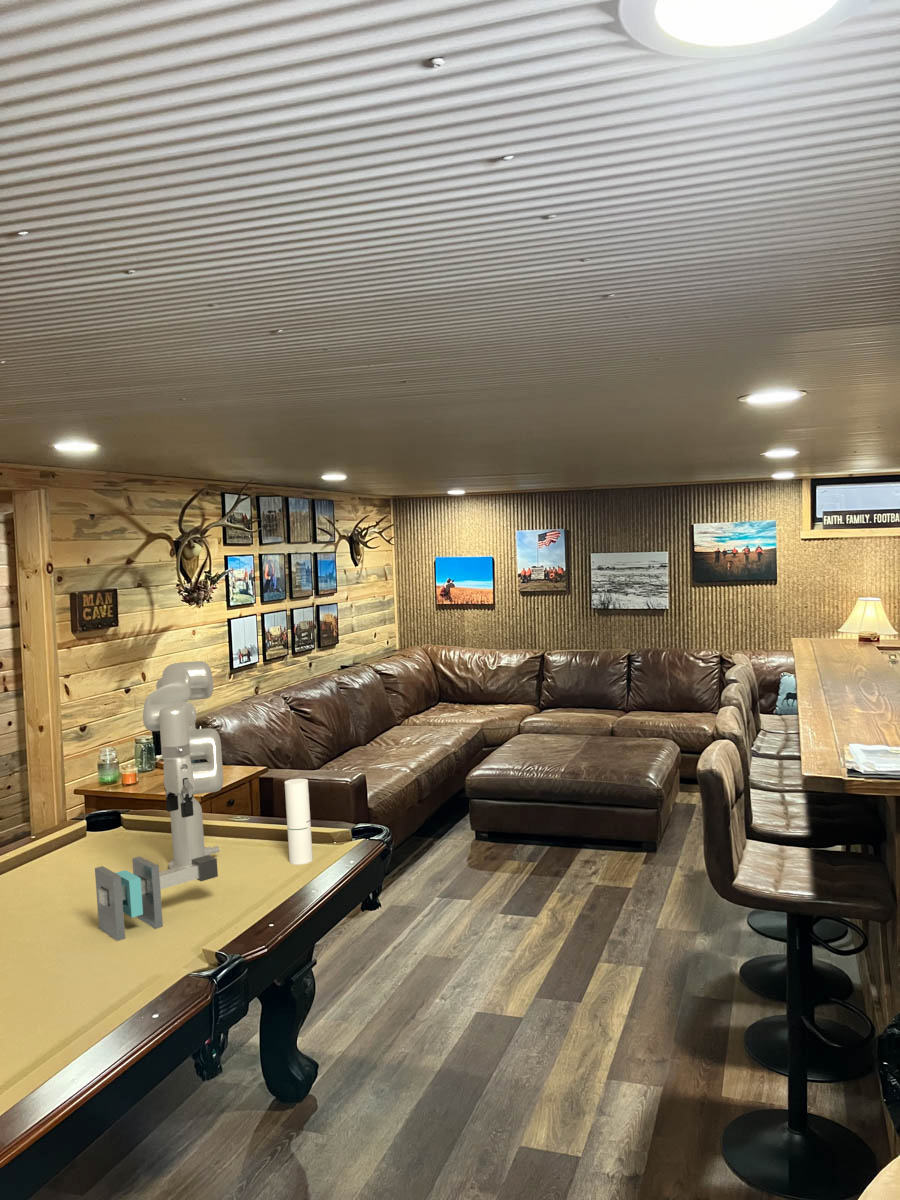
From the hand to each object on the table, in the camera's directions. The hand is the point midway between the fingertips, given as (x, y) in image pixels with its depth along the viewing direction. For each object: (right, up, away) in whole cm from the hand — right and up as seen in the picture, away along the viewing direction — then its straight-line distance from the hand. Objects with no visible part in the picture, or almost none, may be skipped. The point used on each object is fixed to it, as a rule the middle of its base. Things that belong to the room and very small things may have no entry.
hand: (180, 813), depth 253 cm
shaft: (-3, -18, -8) cm, 20 cm away
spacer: (-9, -22, -14) cm, 28 cm away
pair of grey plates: (-9, -27, -14) cm, 31 cm away
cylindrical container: (+28, -23, +34) cm, 49 cm away
